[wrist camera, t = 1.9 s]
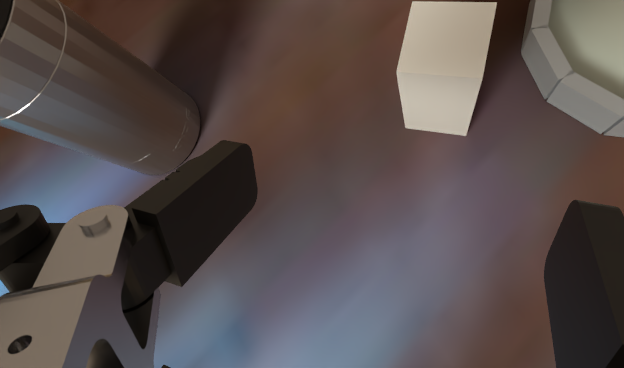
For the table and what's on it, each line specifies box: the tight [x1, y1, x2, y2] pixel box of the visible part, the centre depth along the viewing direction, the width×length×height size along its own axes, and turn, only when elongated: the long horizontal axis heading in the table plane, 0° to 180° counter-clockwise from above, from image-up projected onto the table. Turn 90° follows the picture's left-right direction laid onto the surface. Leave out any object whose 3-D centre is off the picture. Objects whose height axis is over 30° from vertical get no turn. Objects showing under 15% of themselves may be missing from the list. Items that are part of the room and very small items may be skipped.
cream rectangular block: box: [396, 1, 497, 136], centre depth 25 cm, size 5×5×9 cm
